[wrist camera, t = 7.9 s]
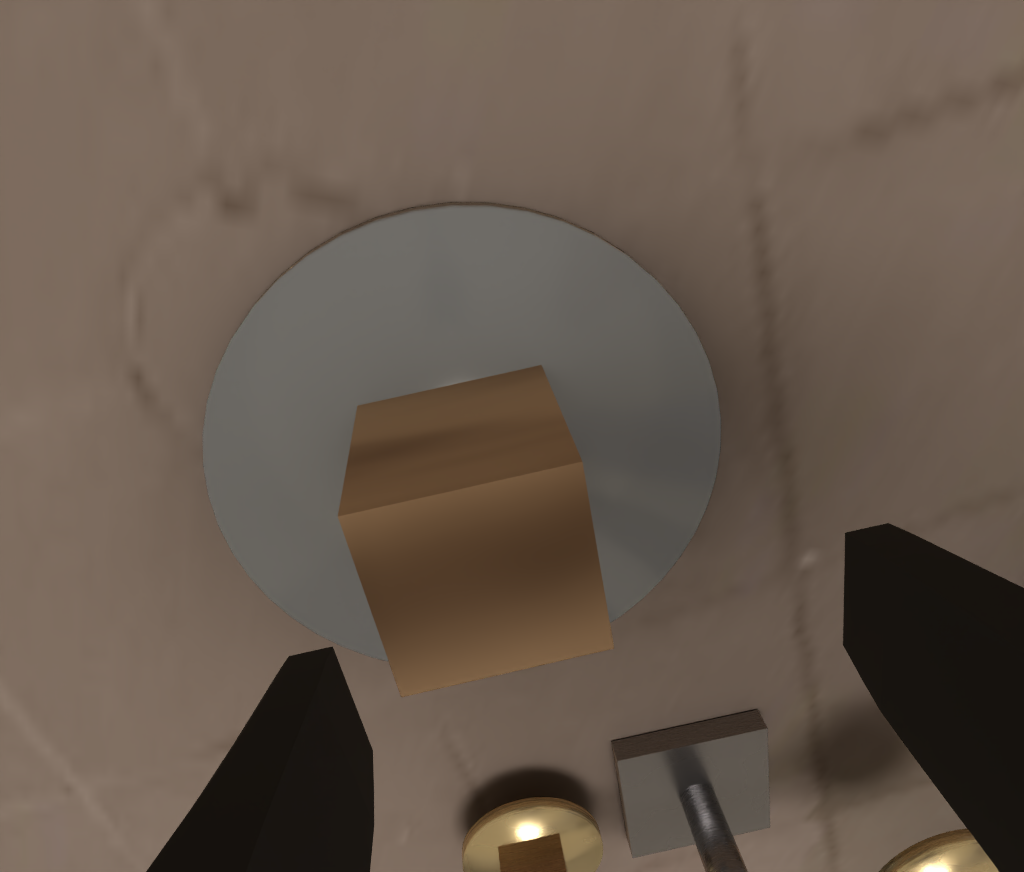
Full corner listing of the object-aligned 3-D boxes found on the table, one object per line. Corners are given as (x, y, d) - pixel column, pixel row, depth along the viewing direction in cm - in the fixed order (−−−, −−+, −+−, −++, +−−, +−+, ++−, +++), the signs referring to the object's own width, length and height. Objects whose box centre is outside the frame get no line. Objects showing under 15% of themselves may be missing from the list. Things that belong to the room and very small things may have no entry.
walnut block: (570, 519, 20) (613, 648, 16) (404, 557, 20) (401, 697, 15) (541, 364, 18) (582, 461, 14) (357, 405, 18) (337, 516, 13)
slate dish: (721, 599, 23) (731, 616, 22) (299, 689, 23) (296, 710, 22) (694, 151, 17) (707, 154, 16) (125, 264, 17) (112, 273, 16)
